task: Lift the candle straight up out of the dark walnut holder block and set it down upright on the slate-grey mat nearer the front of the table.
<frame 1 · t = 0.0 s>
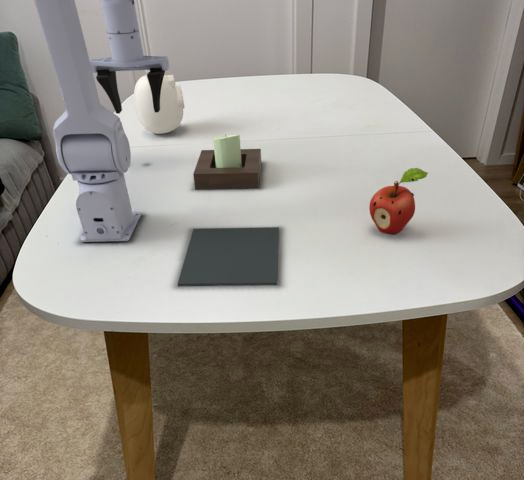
hand: (138, 111, 100), 10 cm above the table, tool pointing down, fingers open, 7 cm apart
candle: (229, 176, 100), resting in holder
apple: (391, 231, 81), on the table
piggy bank: (164, 132, 121), on the table
holder: (229, 175, 100), on the table
mat: (231, 255, 77), on the table
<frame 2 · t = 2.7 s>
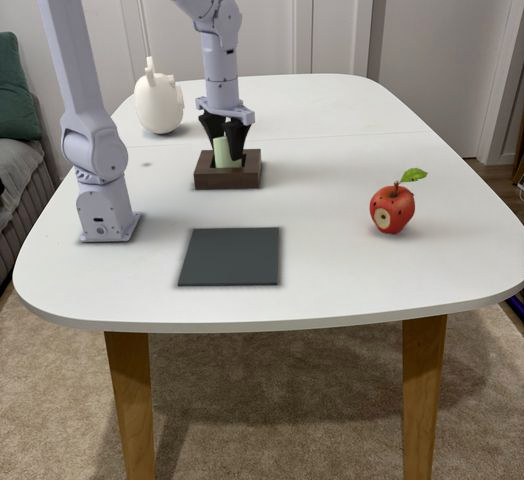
hand: (228, 156, 97), 4 cm above the table, tool pointing down, fingers closed on candle, 5 cm apart
candle: (229, 176, 100), resting in holder, touching gripper
everything else where it was.
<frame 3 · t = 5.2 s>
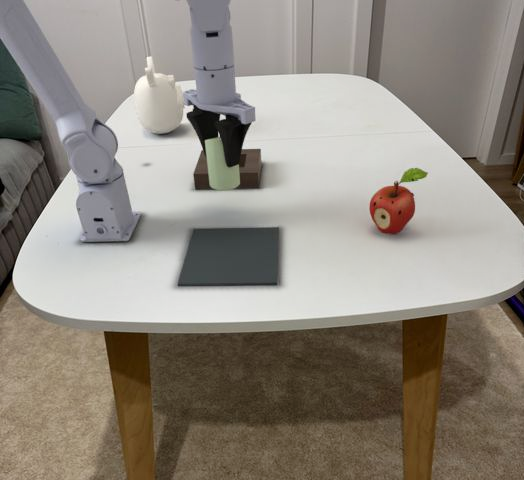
hand: (222, 161, 81), 9 cm above the table, tool pointing down, fingers closed on candle, 5 cm apart
candle: (225, 185, 84), point 5 cm above the table, touching gripper
everything else where it was.
when the fingers open (4 cm above the table, at t = 7.9 s): candle stays where it is, resting on mat.
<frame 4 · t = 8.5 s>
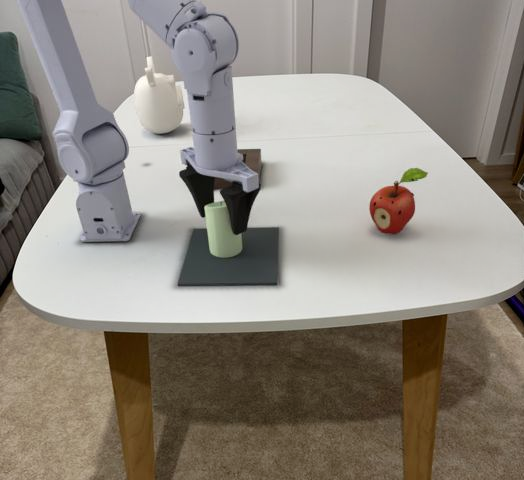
hand: (223, 223, 75), 5 cm above the table, tool pointing down, fingers open, 7 cm apart
candle: (226, 250, 78), resting on mat
everything else where it was.
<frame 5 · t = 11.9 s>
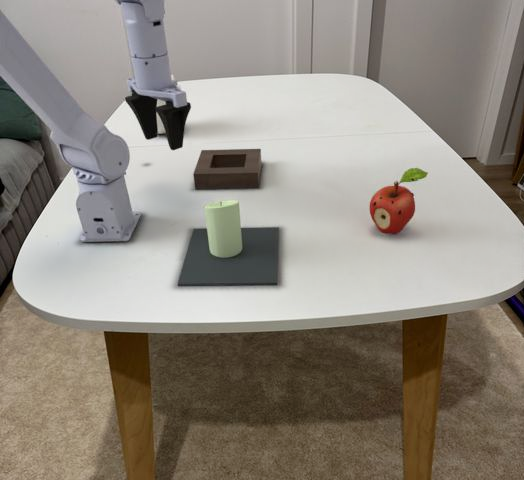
hand: (163, 143, 88), 9 cm above the table, tool pointing down, fingers open, 7 cm apart
nothing on the table moved.
at the end: candle inside the target area on the mat (1.5 cm from its centre), point 0.2 cm above the mat's base; candle tilted 0°; candle touching mat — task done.
